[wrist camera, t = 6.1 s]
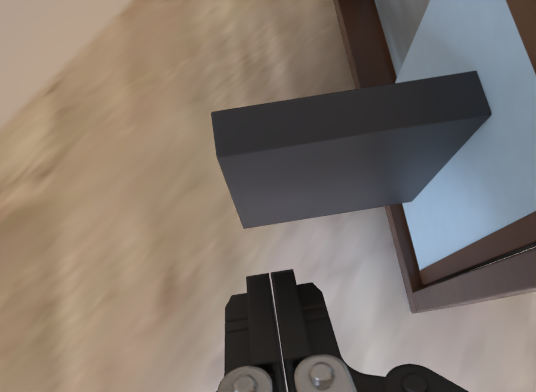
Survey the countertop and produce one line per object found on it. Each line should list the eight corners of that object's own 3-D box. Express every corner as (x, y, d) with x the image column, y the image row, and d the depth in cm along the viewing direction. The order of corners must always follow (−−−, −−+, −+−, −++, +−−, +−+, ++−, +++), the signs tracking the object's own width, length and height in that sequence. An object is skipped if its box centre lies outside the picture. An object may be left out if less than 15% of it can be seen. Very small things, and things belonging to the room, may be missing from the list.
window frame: (471, 303, 23) (823, 235, 8) (411, 313, 23) (651, 263, 8) (375, -23, 30) (467, -393, 15) (329, -16, 30) (373, -380, 15)
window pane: (434, 284, 22) (627, 212, 10) (257, 312, 22) (220, 278, 10) (388, 116, 25) (491, -104, 13) (232, 141, 25) (180, -57, 13)
